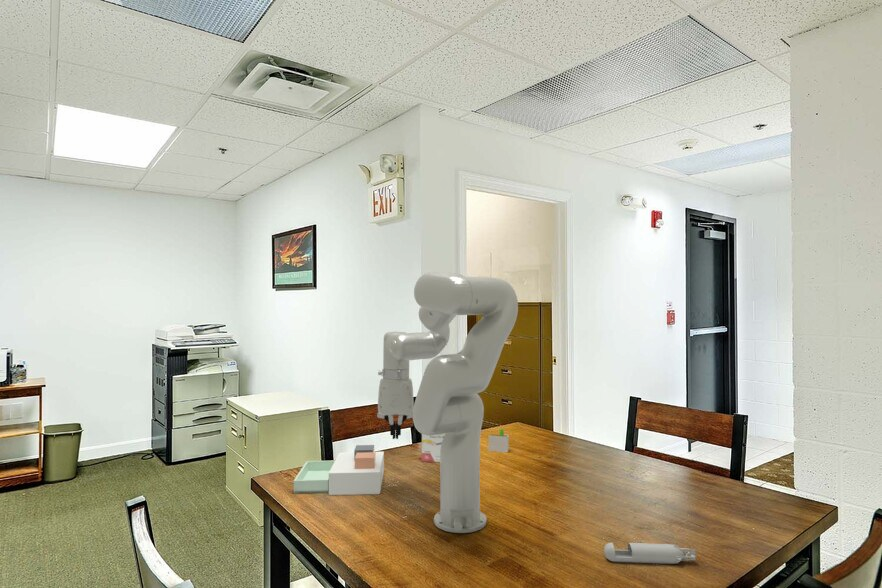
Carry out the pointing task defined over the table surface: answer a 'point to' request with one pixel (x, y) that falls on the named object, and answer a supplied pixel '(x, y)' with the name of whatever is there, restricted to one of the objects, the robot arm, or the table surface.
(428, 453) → the ink cartridge box
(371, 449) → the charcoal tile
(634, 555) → the slotted grey cylinder
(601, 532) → the table surface
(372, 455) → the terracotta tile
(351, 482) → the white box
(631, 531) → the table surface
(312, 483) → the green bin
